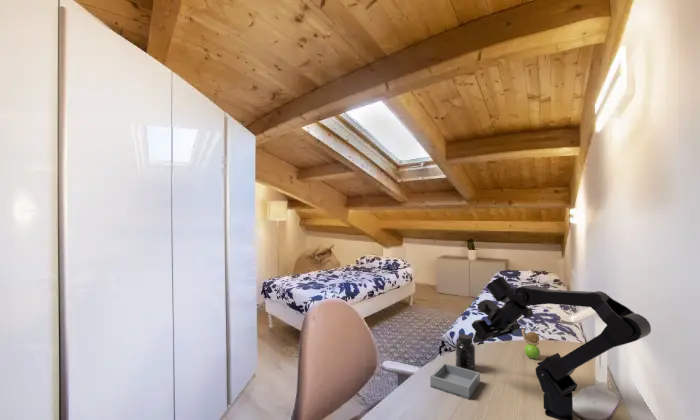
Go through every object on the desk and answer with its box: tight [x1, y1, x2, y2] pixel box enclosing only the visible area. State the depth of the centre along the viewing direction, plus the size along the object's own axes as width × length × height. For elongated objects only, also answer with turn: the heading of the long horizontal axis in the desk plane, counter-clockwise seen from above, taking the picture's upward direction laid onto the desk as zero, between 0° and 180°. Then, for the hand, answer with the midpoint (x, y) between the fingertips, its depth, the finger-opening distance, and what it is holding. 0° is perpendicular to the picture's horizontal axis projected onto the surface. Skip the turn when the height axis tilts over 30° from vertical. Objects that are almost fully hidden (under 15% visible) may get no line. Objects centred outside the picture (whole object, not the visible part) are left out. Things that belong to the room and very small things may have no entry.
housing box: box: [430, 362, 481, 400], centre depth 106 cm, size 12×12×4 cm
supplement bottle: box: [455, 333, 476, 372], centre depth 118 cm, size 7×7×12 cm
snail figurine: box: [520, 325, 541, 360], centre depth 128 cm, size 5×6×12 cm
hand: (482, 339), depth 113 cm, fingers open, 9 cm apart
